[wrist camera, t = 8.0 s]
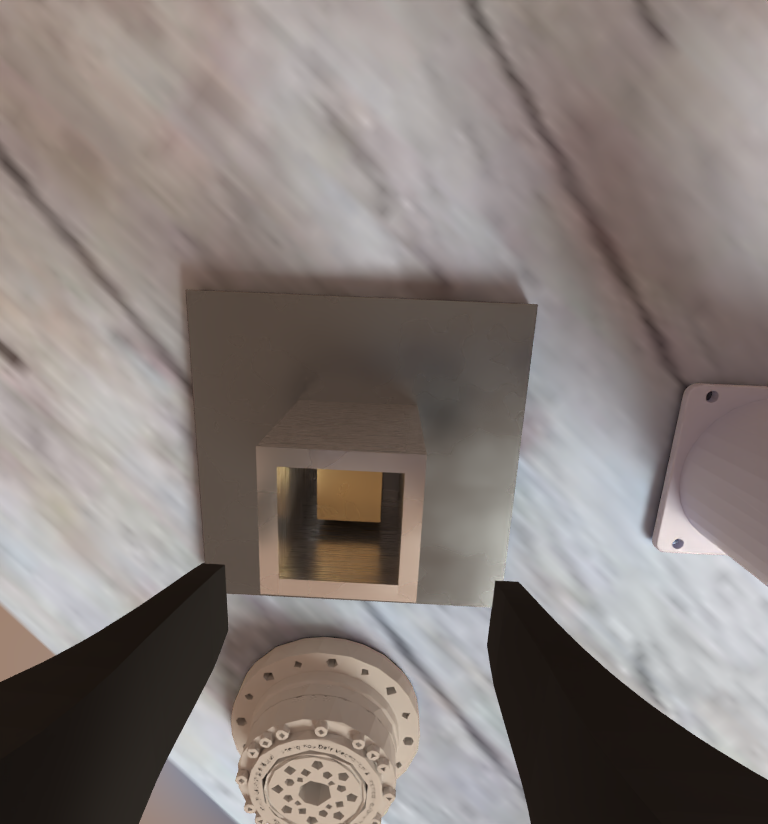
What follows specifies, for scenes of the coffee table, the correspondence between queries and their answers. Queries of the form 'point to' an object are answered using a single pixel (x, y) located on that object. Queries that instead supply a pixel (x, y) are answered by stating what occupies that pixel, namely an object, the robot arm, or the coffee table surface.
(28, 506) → the coffee table surface
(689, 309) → the coffee table surface
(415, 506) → the collar
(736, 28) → the coffee table surface
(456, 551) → the post plate
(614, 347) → the coffee table surface
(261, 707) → the mechanical component
